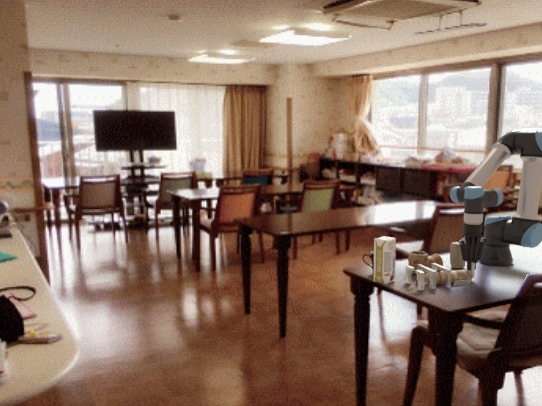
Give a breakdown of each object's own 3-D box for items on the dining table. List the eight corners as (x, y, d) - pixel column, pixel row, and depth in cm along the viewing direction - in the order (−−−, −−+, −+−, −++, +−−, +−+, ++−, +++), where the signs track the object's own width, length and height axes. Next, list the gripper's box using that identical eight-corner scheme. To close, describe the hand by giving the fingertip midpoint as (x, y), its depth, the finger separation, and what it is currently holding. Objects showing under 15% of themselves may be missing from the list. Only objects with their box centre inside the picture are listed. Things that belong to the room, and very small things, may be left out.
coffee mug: (393, 273, 223) (393, 252, 221) (383, 277, 216) (384, 255, 215) (371, 269, 230) (371, 248, 229) (361, 273, 224) (361, 251, 223)
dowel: (464, 278, 213) (465, 267, 212) (471, 282, 208) (473, 271, 207) (423, 282, 208) (424, 271, 207) (430, 287, 203) (431, 275, 202)
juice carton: (397, 281, 211) (398, 237, 209) (386, 285, 206) (387, 240, 203) (382, 277, 217) (382, 235, 214) (371, 281, 211) (371, 238, 208)
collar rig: (455, 277, 216) (456, 261, 215) (472, 284, 205) (473, 267, 204) (405, 282, 209) (405, 265, 208) (420, 290, 198) (420, 272, 197)
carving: (455, 265, 236) (456, 240, 234) (468, 268, 229) (469, 243, 228) (446, 266, 233) (446, 242, 231) (458, 270, 226) (459, 245, 225)
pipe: (446, 274, 222) (447, 252, 220) (415, 277, 216) (416, 255, 215) (433, 268, 230) (434, 248, 229) (403, 272, 225) (404, 251, 223)
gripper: (479, 220, 213) (477, 273, 216) (454, 222, 209) (452, 276, 213) (492, 223, 206) (489, 278, 209) (465, 225, 202) (463, 280, 205)
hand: (471, 277), depth 211 cm, fingers closed
